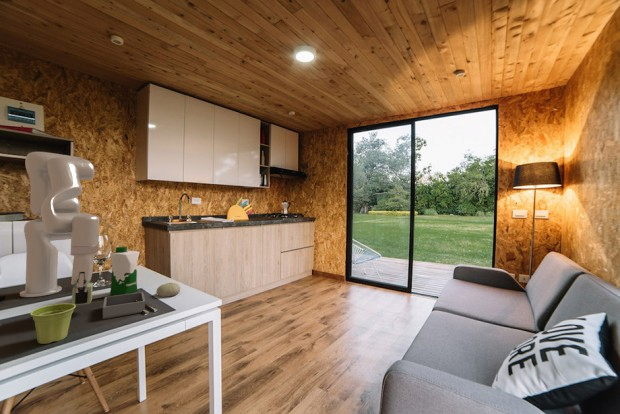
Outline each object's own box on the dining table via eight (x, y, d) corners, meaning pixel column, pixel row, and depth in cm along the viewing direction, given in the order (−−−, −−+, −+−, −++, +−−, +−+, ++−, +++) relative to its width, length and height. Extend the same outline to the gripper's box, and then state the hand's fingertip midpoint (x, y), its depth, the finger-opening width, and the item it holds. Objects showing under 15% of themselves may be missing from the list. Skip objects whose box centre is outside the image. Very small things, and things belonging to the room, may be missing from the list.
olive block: (73, 300, 96) (74, 284, 95) (91, 298, 98) (92, 282, 98) (71, 305, 91) (72, 288, 91) (90, 303, 94) (91, 286, 94)
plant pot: (49, 331, 81) (50, 303, 81) (82, 331, 82) (83, 303, 82) (18, 347, 72) (19, 315, 72) (56, 347, 73) (57, 315, 73)
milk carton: (124, 289, 122) (125, 245, 122) (141, 291, 120) (142, 246, 120) (106, 295, 114) (107, 248, 114) (123, 297, 112) (125, 249, 112)
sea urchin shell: (151, 290, 116) (165, 275, 120) (164, 300, 120) (177, 285, 124) (158, 295, 110) (173, 279, 114) (172, 305, 114) (186, 289, 118)
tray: (104, 307, 100) (104, 296, 100) (142, 301, 107) (143, 291, 107) (102, 319, 90) (103, 307, 90) (144, 312, 97) (145, 301, 97)
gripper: (74, 246, 99) (72, 294, 100) (66, 255, 85) (63, 311, 86) (99, 245, 104) (97, 291, 104) (96, 254, 90) (93, 307, 90)
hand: (82, 300), depth 95 cm, fingers closed on olive block, 5 cm apart
